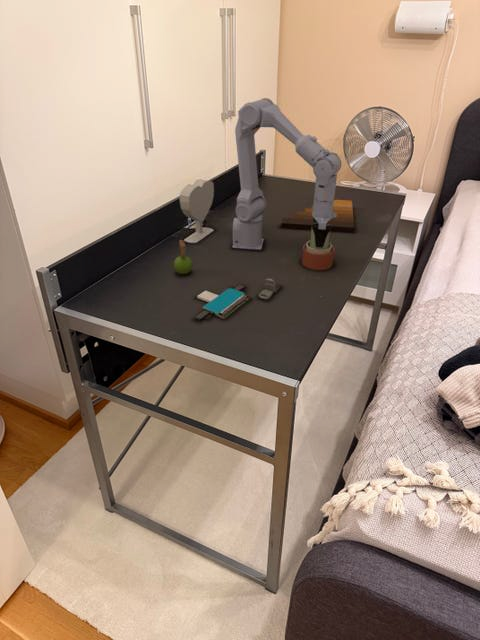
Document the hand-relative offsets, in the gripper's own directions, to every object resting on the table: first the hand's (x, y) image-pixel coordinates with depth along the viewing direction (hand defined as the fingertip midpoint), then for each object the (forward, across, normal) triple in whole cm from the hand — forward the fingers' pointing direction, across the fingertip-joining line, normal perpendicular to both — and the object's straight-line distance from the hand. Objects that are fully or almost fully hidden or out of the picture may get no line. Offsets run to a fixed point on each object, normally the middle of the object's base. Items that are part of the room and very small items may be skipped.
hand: (319, 242), depth 142 cm
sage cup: (+2, 0, 0) cm, 2 cm away
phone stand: (+7, -27, +26) cm, 38 cm away
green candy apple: (+7, -13, +39) cm, 42 cm away
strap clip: (+7, -20, +13) cm, 25 cm away
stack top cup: (+7, 0, 0) cm, 7 cm away
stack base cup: (+7, 0, 0) cm, 7 cm away
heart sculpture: (+7, +15, +40) cm, 44 cm away
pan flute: (+7, +37, 0) cm, 38 cm away
